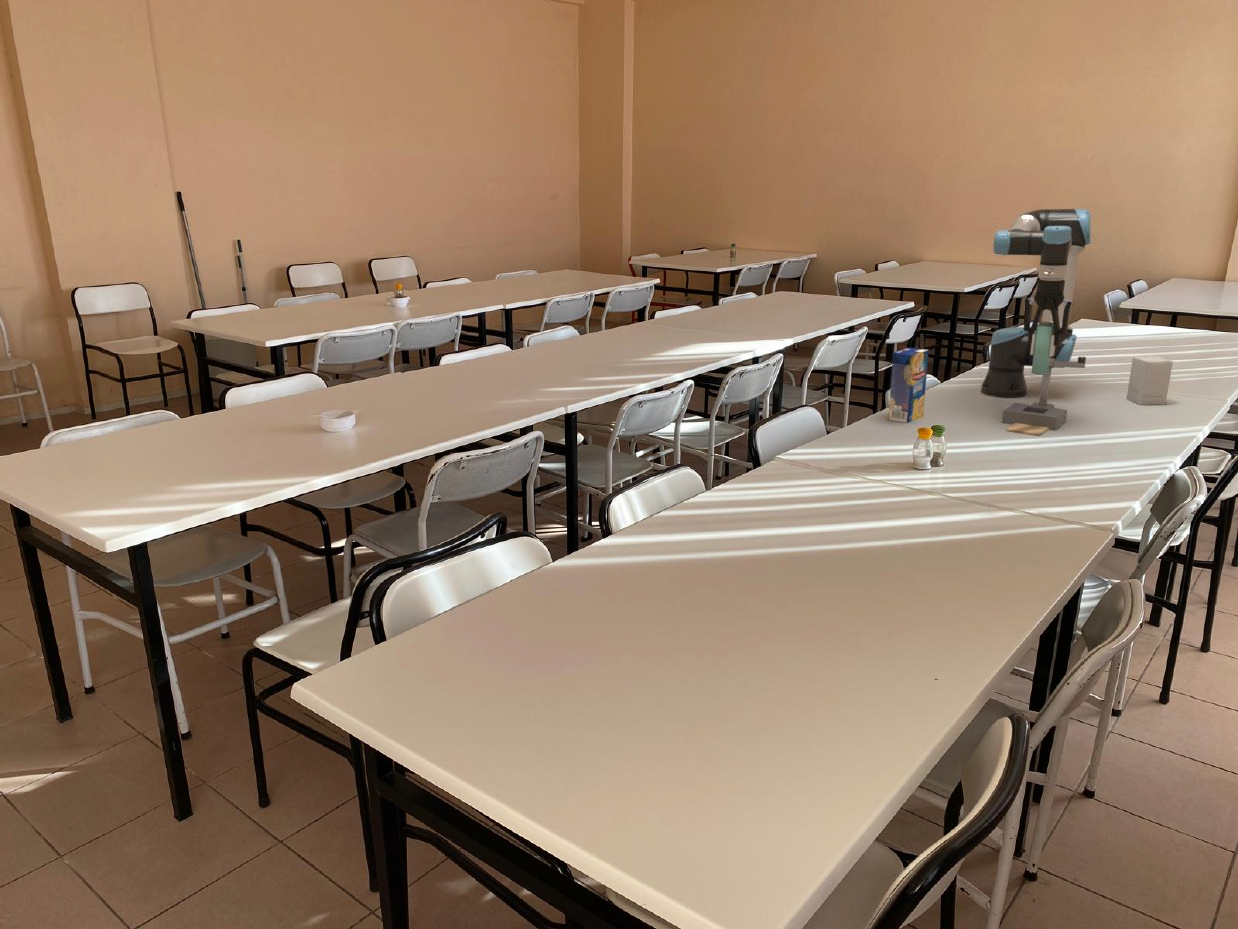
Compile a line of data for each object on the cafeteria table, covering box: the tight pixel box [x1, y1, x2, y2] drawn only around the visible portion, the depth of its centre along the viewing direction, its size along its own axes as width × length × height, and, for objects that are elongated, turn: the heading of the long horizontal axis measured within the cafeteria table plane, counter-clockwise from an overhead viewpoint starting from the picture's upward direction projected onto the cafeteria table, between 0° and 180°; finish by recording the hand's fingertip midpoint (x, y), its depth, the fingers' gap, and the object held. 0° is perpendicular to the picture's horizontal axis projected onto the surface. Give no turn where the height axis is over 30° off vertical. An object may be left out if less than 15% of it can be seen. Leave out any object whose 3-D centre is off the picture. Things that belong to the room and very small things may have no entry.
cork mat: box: [1005, 423, 1049, 437], centre depth 275 cm, size 10×10×1 cm
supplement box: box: [1126, 355, 1173, 406], centre depth 301 cm, size 9×9×15 cm
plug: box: [1031, 321, 1054, 376], centre depth 275 cm, size 5×5×16 cm
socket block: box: [1001, 367, 1068, 431], centre depth 282 cm, size 16×16×16 cm
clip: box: [1049, 356, 1087, 369], centre depth 282 cm, size 12×4×3 cm, turn 71°
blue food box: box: [887, 347, 929, 423], centre depth 288 cm, size 7×11×22 cm, turn 137°
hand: (1042, 354), depth 276 cm, fingers closed on plug, 5 cm apart
